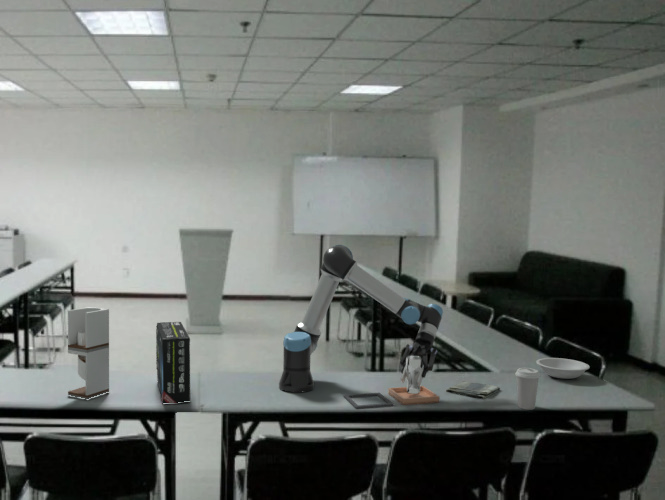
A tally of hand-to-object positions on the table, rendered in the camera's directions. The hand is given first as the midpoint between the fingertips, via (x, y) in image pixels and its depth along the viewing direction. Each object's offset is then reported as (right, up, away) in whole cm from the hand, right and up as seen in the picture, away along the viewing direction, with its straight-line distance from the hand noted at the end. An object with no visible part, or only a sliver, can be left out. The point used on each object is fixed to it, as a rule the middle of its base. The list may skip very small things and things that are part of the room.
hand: (410, 381), depth 258 cm
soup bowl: (+78, -7, +43) cm, 89 cm away
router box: (-99, -6, +5) cm, 99 cm away
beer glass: (+2, -5, +3) cm, 7 cm away
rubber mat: (-18, -7, -2) cm, 19 cm away
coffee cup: (+46, -9, -5) cm, 47 cm away
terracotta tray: (+2, -7, +4) cm, 8 cm away
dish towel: (+29, -8, +16) cm, 34 cm away
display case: (-131, -5, -1) cm, 132 cm away
